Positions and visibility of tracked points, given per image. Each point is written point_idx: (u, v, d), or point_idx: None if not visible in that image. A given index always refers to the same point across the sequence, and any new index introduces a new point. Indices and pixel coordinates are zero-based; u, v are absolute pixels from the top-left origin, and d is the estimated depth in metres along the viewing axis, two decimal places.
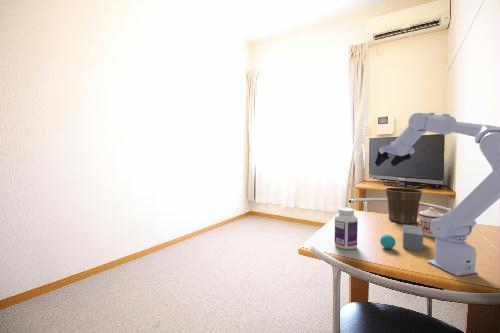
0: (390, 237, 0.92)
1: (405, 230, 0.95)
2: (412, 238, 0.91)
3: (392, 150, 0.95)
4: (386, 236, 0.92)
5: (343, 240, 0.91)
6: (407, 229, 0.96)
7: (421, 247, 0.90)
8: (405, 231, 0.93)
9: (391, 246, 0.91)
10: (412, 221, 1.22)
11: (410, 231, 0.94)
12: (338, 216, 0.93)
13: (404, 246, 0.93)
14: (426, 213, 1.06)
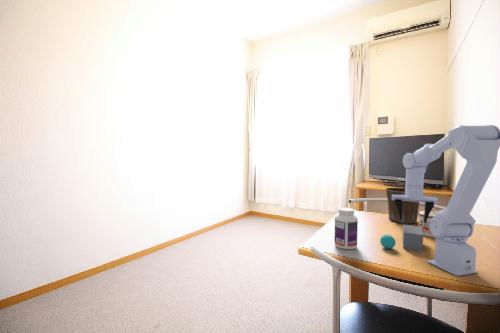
0: (390, 237, 0.92)
1: (405, 230, 0.95)
2: (412, 238, 0.91)
3: (404, 196, 0.96)
4: (386, 236, 0.92)
5: (343, 240, 0.91)
6: (407, 229, 0.96)
7: (421, 247, 0.90)
8: (405, 231, 0.93)
9: (391, 246, 0.91)
10: (412, 221, 1.22)
11: (410, 231, 0.94)
12: (338, 216, 0.93)
13: (404, 246, 0.93)
14: None
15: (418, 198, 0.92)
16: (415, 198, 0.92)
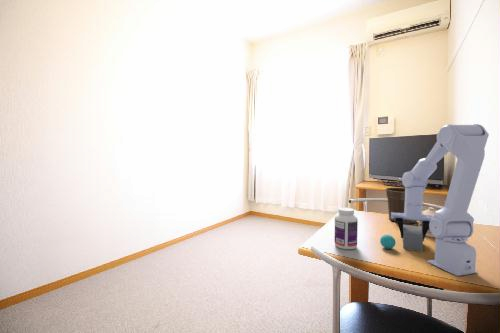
0: (390, 237, 0.92)
1: (405, 230, 0.95)
2: (412, 238, 0.91)
3: (403, 215, 0.96)
4: (386, 236, 0.92)
5: (343, 240, 0.91)
6: (407, 229, 0.96)
7: (421, 247, 0.90)
8: (405, 231, 0.93)
9: (391, 246, 0.91)
10: (412, 221, 1.22)
11: (410, 231, 0.94)
12: (338, 216, 0.93)
13: (404, 246, 0.93)
14: (426, 213, 1.06)
15: (417, 217, 0.92)
16: (414, 217, 0.93)
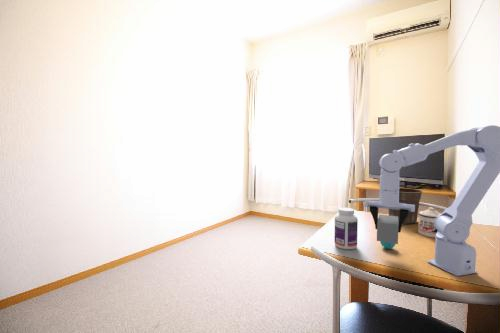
0: None
1: (379, 220, 0.83)
2: (387, 228, 0.79)
3: (378, 203, 0.84)
4: None
5: (343, 240, 0.91)
6: (382, 219, 0.84)
7: (397, 239, 0.78)
8: (379, 221, 0.82)
9: (391, 246, 0.91)
10: (412, 221, 1.22)
11: (384, 221, 0.82)
12: (338, 216, 0.93)
13: (378, 238, 0.81)
14: (426, 213, 1.06)
15: (393, 205, 0.80)
16: (389, 205, 0.81)
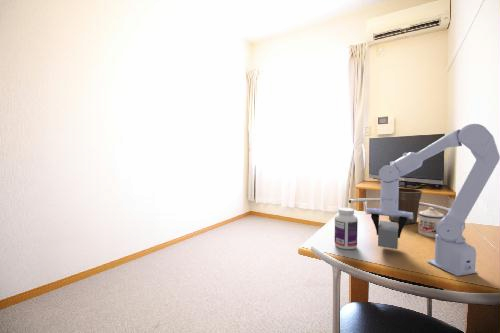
0: None
1: (380, 227, 0.89)
2: (387, 235, 0.86)
3: (379, 210, 0.91)
4: None
5: (343, 240, 0.91)
6: (383, 226, 0.90)
7: (396, 245, 0.85)
8: (380, 228, 0.88)
9: None
10: (412, 221, 1.22)
11: (385, 227, 0.88)
12: (338, 216, 0.93)
13: (379, 244, 0.87)
14: (426, 213, 1.06)
15: (392, 213, 0.87)
16: (389, 213, 0.87)
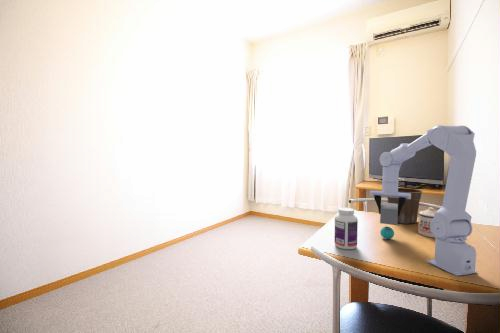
0: (389, 238, 1.01)
1: (382, 206, 1.01)
2: (388, 213, 0.98)
3: (381, 192, 1.03)
4: (385, 238, 1.02)
5: (343, 240, 0.91)
6: (384, 206, 1.02)
7: (396, 221, 0.97)
8: (382, 207, 1.00)
9: None
10: (412, 221, 1.22)
11: (386, 207, 1.00)
12: (338, 216, 0.93)
13: (381, 221, 0.99)
14: (426, 213, 1.06)
15: (393, 194, 0.99)
16: (390, 194, 1.00)
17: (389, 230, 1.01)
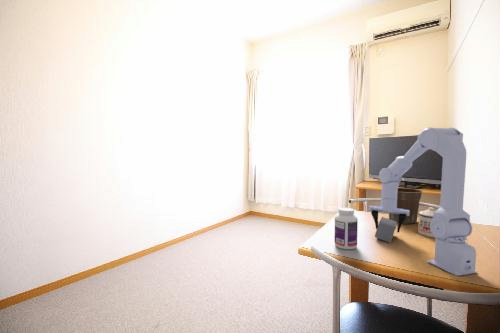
0: None
1: (381, 221, 1.02)
2: (385, 229, 0.99)
3: (380, 208, 1.04)
4: None
5: (343, 240, 0.91)
6: (383, 221, 1.03)
7: (391, 239, 0.98)
8: (380, 222, 1.01)
9: None
10: (412, 221, 1.22)
11: (385, 223, 1.01)
12: (338, 216, 0.93)
13: (376, 235, 1.01)
14: (426, 213, 1.06)
15: (392, 210, 1.00)
16: (389, 210, 1.00)
17: None
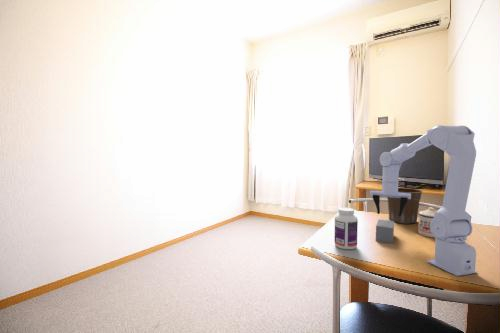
0: None
1: (378, 224, 1.02)
2: (384, 231, 0.99)
3: (381, 192, 1.03)
4: None
5: (343, 240, 0.91)
6: (380, 223, 1.03)
7: (392, 240, 0.98)
8: (378, 225, 1.01)
9: None
10: (412, 221, 1.22)
11: (382, 225, 1.01)
12: (338, 216, 0.93)
13: (376, 238, 1.01)
14: (426, 213, 1.06)
15: (393, 194, 0.99)
16: (390, 194, 1.00)
17: None
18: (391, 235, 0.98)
